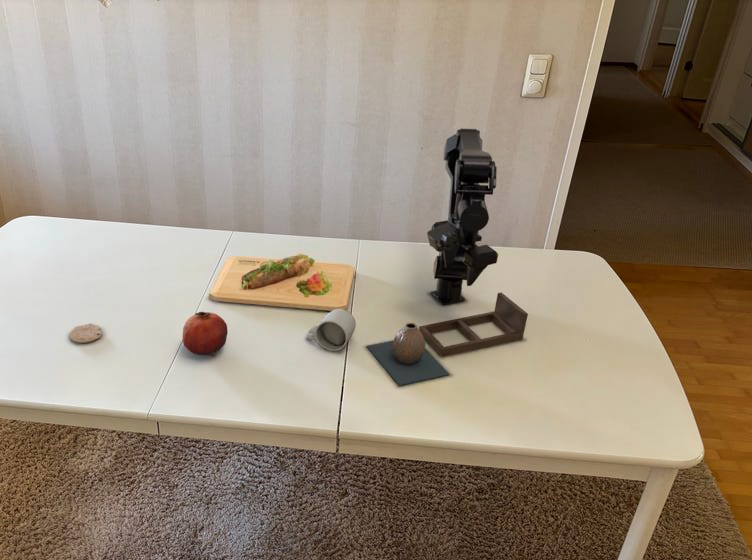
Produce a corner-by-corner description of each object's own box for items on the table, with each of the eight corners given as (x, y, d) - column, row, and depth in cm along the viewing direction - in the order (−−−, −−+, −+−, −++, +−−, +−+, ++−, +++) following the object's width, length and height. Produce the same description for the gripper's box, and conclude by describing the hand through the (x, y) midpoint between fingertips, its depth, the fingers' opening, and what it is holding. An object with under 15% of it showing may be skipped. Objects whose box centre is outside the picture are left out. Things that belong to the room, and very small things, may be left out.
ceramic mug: (356, 336, 170) (358, 307, 165) (346, 354, 164) (347, 325, 159) (314, 328, 173) (314, 299, 169) (302, 345, 167) (302, 316, 163)
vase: (422, 369, 158) (426, 335, 153) (390, 366, 159) (393, 332, 154) (423, 352, 163) (427, 318, 158) (392, 349, 164) (395, 315, 160)
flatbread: (100, 343, 168) (99, 339, 168) (67, 345, 168) (66, 341, 167) (104, 325, 175) (103, 321, 174) (72, 326, 174) (71, 323, 174)
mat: (366, 347, 166) (366, 345, 166) (413, 337, 169) (414, 336, 169) (399, 386, 153) (399, 384, 153) (449, 375, 157) (449, 373, 156)
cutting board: (354, 270, 197) (356, 245, 193) (345, 313, 178) (347, 286, 174) (229, 260, 203) (228, 236, 199) (207, 302, 184) (205, 275, 180)
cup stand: (418, 333, 171) (421, 307, 167) (496, 317, 176) (501, 292, 172) (441, 357, 162) (445, 330, 158) (522, 339, 168) (528, 313, 164)
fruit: (192, 368, 160) (189, 329, 154) (176, 346, 167) (172, 308, 161) (236, 355, 164) (234, 317, 158) (218, 334, 171) (216, 297, 165)
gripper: (414, 201, 163) (407, 264, 171) (457, 234, 148) (448, 301, 157) (457, 195, 166) (449, 257, 174) (505, 227, 151) (492, 293, 160)
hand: (458, 276), depth 166 cm, fingers open, 9 cm apart
